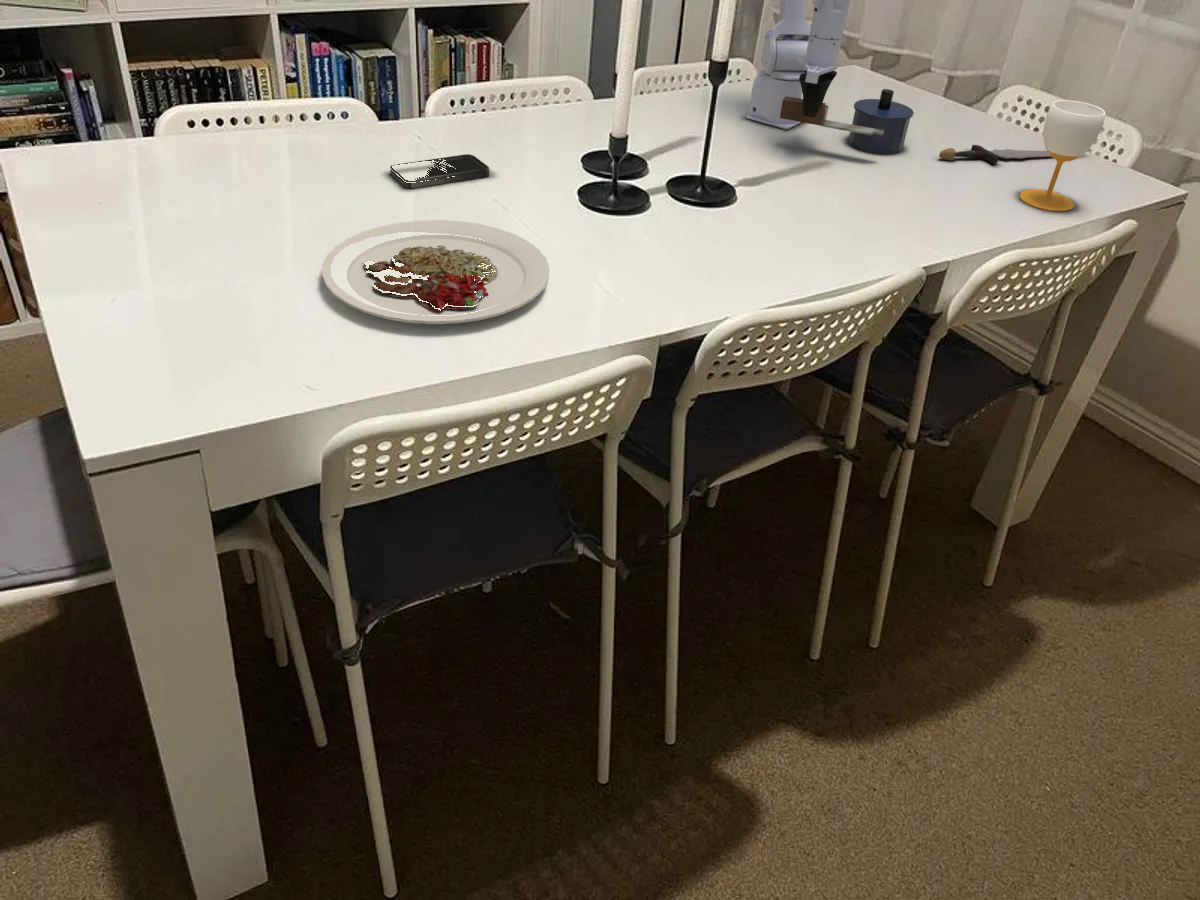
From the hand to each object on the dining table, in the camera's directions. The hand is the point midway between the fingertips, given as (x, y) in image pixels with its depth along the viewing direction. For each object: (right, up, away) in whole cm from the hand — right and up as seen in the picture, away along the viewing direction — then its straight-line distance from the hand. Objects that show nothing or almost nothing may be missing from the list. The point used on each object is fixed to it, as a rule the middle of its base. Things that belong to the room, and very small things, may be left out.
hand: (810, 113), depth 181 cm
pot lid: (+15, +2, +5) cm, 16 cm away
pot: (+14, -3, +9) cm, 17 cm away
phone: (-65, -16, -17) cm, 69 cm away
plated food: (-60, -39, -47) cm, 86 cm away
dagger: (+40, -6, +8) cm, 41 cm away
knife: (+3, -2, 0) cm, 4 cm away
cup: (+39, -18, -9) cm, 44 cm away
